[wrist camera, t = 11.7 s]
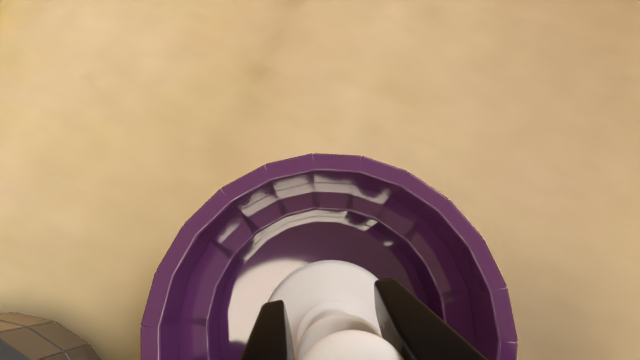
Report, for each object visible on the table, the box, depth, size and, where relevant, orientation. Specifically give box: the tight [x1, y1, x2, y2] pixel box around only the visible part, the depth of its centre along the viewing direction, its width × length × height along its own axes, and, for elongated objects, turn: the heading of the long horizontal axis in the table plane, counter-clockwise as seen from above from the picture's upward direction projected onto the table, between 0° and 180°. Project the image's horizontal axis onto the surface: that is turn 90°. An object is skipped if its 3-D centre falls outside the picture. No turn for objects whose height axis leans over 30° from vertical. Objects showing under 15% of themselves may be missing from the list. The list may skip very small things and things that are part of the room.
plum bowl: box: [141, 153, 517, 360], centre depth 14 cm, size 11×11×4 cm
